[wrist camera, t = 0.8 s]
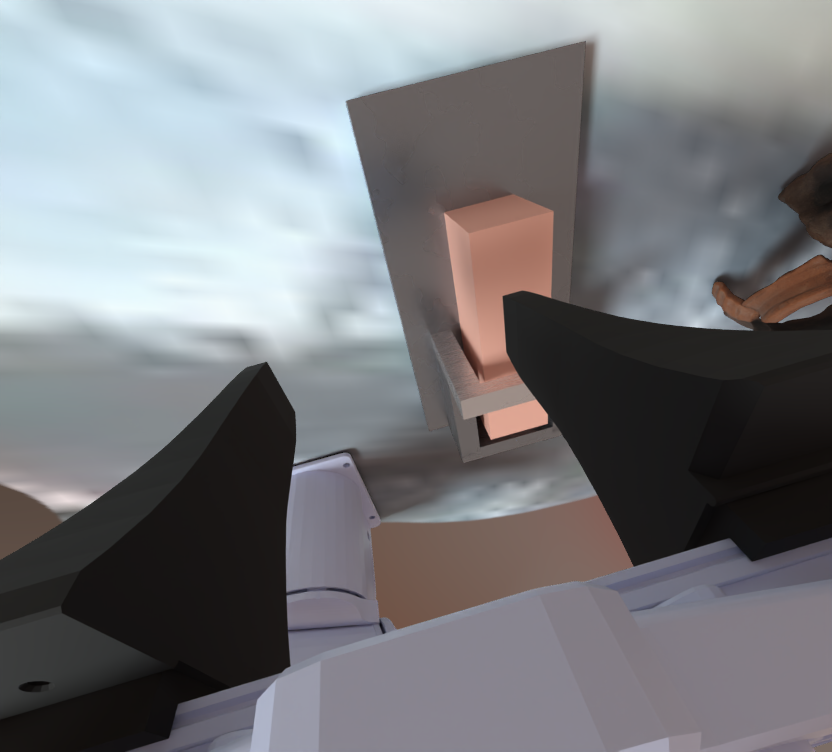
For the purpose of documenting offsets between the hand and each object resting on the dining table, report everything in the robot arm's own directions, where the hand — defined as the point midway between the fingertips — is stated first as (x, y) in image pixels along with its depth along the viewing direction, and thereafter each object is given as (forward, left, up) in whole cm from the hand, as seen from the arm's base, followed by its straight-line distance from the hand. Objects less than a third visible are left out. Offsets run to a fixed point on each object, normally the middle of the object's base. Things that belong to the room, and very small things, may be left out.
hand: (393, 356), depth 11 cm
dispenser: (-3, -6, -10) cm, 12 cm away
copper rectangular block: (-5, -6, -9) cm, 12 cm away
